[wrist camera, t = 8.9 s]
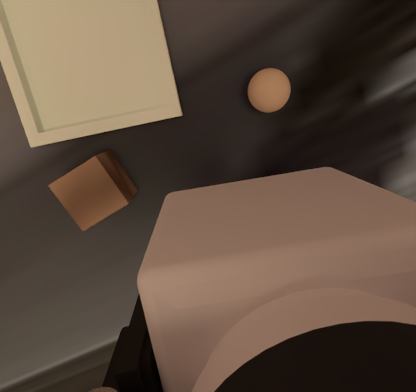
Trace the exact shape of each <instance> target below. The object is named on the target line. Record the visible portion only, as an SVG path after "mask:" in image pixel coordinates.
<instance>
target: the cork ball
mask: <svg viewBox="0 0 416 392" xmlns="http://www.w3.org/2000/svg"><path fill="white" fill-rule="evenodd" d="M290 91H291V87H290V82H289V80H288V78H287V76H286V75H285V74H284V73H283V72H282V71H280V70H278V69H275V68H266V69H263V70H261V71H259V72H257V73H256V74H255V75H254V76H253V77H252V79H251V81H250V83H249V86H248V98H249V100H250V102H251V104H252V105H253V106H254V107H255V108H256V109H257V110H259V111H262V112H274V111H277V110H279V109H280V108H282V107H283V106H284V105H285V103H286V102H287V101H288V99H289V96H290Z"/></svg>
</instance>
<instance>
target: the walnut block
mask: <svg viewBox="0 0 416 392" xmlns="http://www.w3.org/2000/svg"><path fill="white" fill-rule="evenodd" d="M48 186H49V188H50V189H51V190H52V191H53V193H54V194H55V195H56V197H57V198H58V199H59V201H60V202H61V203H62V205H63V206H64V207H65V209H66V210H67V211H68V212H69V214H70V215H71V216H72V218H73V219H74V220H75V222H76V223H77V224H78V226H79V227H80V228H81V230H82V231H84V230H86V229H88V228H89V227H91V226H93V225H94V224H96V223H98V222H99V221H101V220H102V219H104V218H106V217H107V216H109V215H111V214H112V213H114V212H116V211H117V210H119V209H121V208H122V207H124V206H125V205H127V204H129V202H130V201H131V200H132V198H133V197H134V196H135V194H136V193H137V192H138V190H137V189H136V187H135V186H134V184H133V183H132V181H131V180H130V178H129V177H128V175H127V174H126V173H125V171H124V170H123V168H122V167H121V165H120V164H119V162H118V161H117V159H116V158H115V156H114V155H113V154H112V152H111V151H110V150H108V151H106V152H103V153H101V154H99V155H96V156H94V157H93V158H91V159H89V160H88V161H86V162H85V163H83V164H82V165H80V166H78V167H77V168H75V169H74V170H72V171H70V172H69V173H67V174H66V175H64V176H63V177H61V178H59V179H58V180H56V181H55V182H53V183H51V184H50V185H48Z"/></svg>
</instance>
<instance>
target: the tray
mask: <svg viewBox="0 0 416 392" xmlns="http://www.w3.org/2000/svg"><path fill="white" fill-rule="evenodd" d="M0 61H1V64H2V67H3V69H4V72H5V75H6V78H7V81H8V84H9V87H10V90H11V92H12V95H13V98H14V101H15V104H16V107H17V110H18V113H19V115H20V118H21V121H22V124H23V127H24V130H25V133H26V136H27V138H28V141H29V144H30V147H36V146H41V145H46V144H50V143H55V142H60V141H64V140H69V139H74V138H79V137H83V136H88V135H93V134H98V133H102V132H107V131H112V130H116V129H121V128H126V127H131V126H135V125H140V124H145V123H149V122H154V121H159V120H164V119H168V118H173V117H178V116H183V114H182V110H181V105H180V101H179V96H178V91H177V87H176V82H175V78H174V73H173V69H172V64H171V59H170V55H169V50H168V46H167V41H166V36H165V32H164V27H163V23H162V18H161V14H160V9H159V4H158V0H0Z"/></svg>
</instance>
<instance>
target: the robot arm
mask: <svg viewBox="0 0 416 392" xmlns="http://www.w3.org/2000/svg"><path fill="white" fill-rule="evenodd" d="M90 392H163V388H162V384H161V380H160V375H159V371H158V367H157V363H156V359H155V355H154V351H153V347H152V343H151V339H150V335H149V331H148V327H147V323H146V319H145V315H144V310H143V306H142V302H141V298H140V294H139V295H138V299H137V302H136V305H135V308H134V312H133V315H132V318H131V321H130V324H129V326H127V327H124V328H122V330H121V332H120V335H119V338H118V341H117V344H116V347H115V350H114V353H113V356H112V359H111V362H110V365H109V368H108V370H107V373H106V376H105V379H104V382H103V385H102V387H101V388H97V389H94V390H92V391H90Z"/></svg>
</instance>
